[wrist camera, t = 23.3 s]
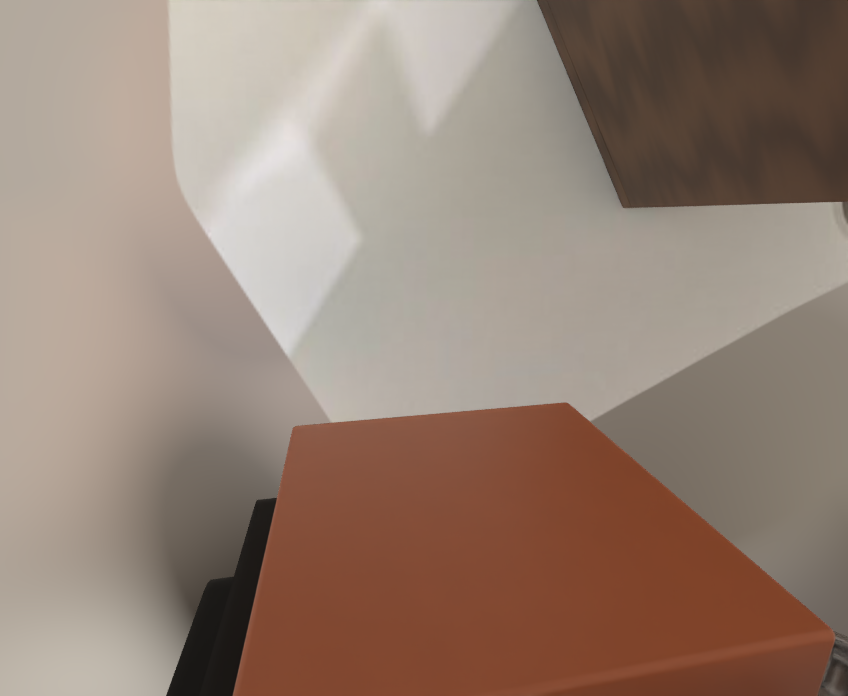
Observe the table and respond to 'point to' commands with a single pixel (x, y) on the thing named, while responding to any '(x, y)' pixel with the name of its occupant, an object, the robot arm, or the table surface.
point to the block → (507, 571)
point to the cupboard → (712, 96)
